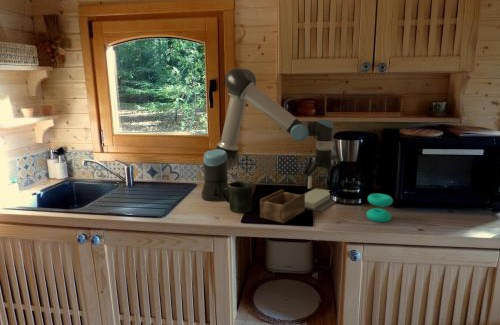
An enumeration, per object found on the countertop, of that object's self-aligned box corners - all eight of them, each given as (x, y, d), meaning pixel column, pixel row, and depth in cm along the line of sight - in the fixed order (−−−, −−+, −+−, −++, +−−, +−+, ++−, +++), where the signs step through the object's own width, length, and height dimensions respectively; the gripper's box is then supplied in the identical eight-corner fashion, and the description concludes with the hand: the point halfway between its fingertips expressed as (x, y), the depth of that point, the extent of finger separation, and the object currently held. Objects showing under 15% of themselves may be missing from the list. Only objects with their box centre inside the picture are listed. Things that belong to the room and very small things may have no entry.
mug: (249, 214, 156) (249, 188, 153) (218, 211, 160) (217, 186, 157) (255, 206, 166) (255, 182, 163) (226, 204, 170) (225, 179, 167)
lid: (294, 204, 167) (294, 199, 166) (315, 192, 184) (315, 188, 184) (313, 208, 161) (314, 203, 161) (333, 196, 178) (334, 191, 178)
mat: (286, 204, 169) (286, 203, 168) (311, 191, 189) (311, 189, 189) (321, 212, 158) (321, 211, 158) (343, 197, 179) (343, 196, 178)
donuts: (369, 199, 145) (366, 192, 154) (367, 222, 147) (364, 213, 156) (395, 200, 143) (390, 193, 152) (393, 223, 145) (388, 215, 155)
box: (259, 217, 153) (260, 199, 151) (281, 205, 167) (282, 189, 165) (283, 223, 146) (284, 204, 144) (304, 210, 160) (304, 193, 158)
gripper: (297, 147, 178) (296, 187, 183) (345, 153, 163) (342, 197, 168) (304, 145, 184) (303, 184, 188) (351, 150, 169) (348, 193, 174)
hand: (321, 190), depth 178 cm, fingers open, 13 cm apart
